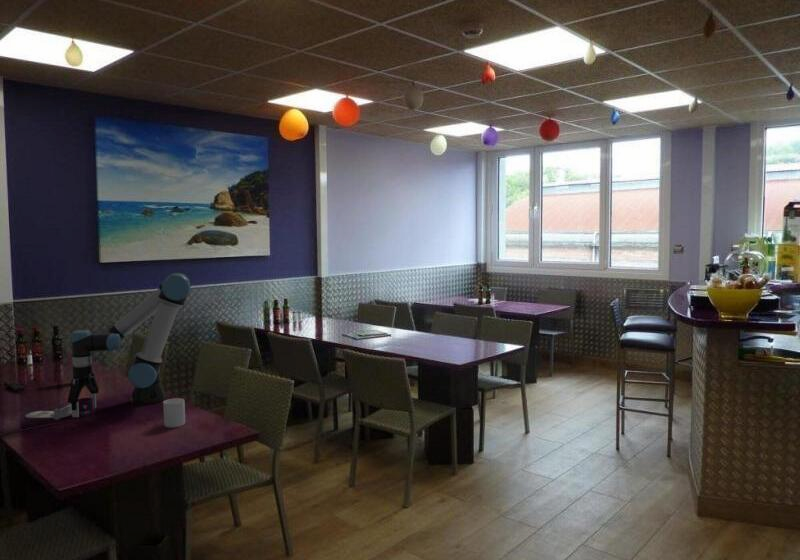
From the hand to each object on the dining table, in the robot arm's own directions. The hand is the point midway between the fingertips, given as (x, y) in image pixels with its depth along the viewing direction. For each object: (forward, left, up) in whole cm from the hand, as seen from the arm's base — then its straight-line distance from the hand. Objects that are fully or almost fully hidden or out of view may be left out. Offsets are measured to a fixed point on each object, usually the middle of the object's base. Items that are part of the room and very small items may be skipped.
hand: (84, 412), depth 266 cm
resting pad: (+15, +2, -1) cm, 15 cm away
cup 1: (0, 0, -1) cm, 1 cm away
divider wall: (+7, 0, -1) cm, 7 cm away
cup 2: (-46, +13, -1) cm, 48 cm away
